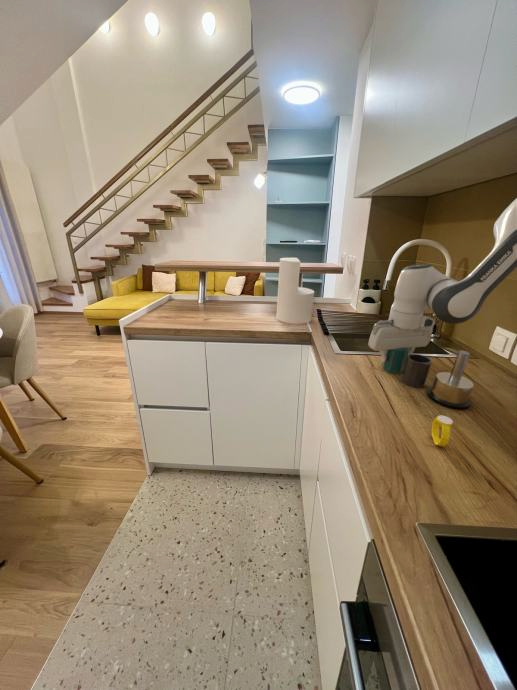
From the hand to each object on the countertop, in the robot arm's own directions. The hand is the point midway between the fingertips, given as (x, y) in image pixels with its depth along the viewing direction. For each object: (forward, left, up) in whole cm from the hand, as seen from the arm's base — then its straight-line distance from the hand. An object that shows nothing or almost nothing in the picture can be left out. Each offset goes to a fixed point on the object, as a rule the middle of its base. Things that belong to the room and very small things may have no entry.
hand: (394, 360), depth 90 cm
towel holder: (-11, +15, -3) cm, 19 cm away
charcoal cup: (-4, +8, -3) cm, 10 cm away
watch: (-2, +34, -3) cm, 34 cm away
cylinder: (+37, -45, -3) cm, 58 cm away
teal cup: (0, 0, -3) cm, 3 cm away
